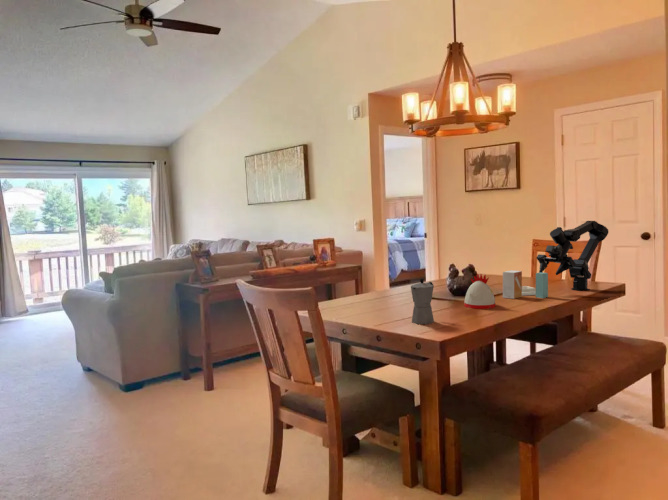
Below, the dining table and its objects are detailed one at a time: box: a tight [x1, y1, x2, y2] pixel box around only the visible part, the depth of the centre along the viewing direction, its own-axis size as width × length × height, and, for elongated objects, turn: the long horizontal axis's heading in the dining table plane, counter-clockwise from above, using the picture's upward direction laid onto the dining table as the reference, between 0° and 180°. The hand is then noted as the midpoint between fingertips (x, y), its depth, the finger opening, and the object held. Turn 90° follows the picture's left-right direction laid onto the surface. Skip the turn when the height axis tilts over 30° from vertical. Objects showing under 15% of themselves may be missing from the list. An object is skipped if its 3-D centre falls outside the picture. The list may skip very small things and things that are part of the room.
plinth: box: [522, 285, 536, 297], centre depth 269 cm, size 12×12×3 cm
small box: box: [502, 269, 523, 300], centre depth 259 cm, size 8×6×13 cm
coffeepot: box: [410, 277, 435, 325], centre depth 214 cm, size 15×9×18 cm, turn 141°
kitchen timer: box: [463, 273, 496, 310], centre depth 241 cm, size 14×14×15 cm
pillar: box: [535, 272, 549, 299], centre depth 256 cm, size 4×4×12 cm
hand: (547, 273), depth 259 cm, fingers open, 9 cm apart
